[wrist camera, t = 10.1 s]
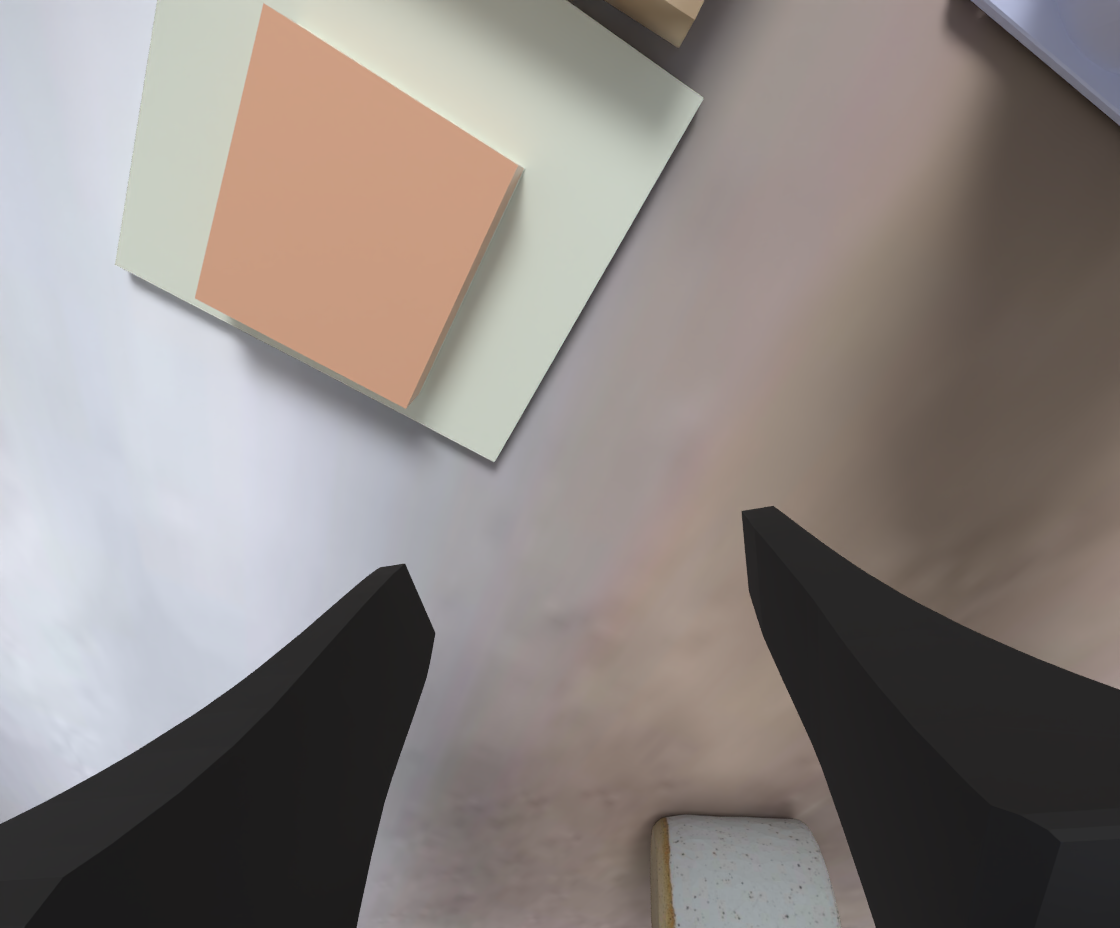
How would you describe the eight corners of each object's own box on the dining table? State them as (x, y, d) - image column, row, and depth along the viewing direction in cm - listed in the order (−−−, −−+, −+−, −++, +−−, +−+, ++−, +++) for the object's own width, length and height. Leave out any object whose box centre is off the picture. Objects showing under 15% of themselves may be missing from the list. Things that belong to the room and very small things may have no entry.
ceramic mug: (647, 784, 29) (663, 970, 22) (803, 787, 28) (870, 980, 21) (643, 886, 34) (656, 1064, 27) (776, 891, 33) (824, 1075, 26)
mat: (700, 101, 15) (703, 97, 15) (496, 456, 20) (494, 462, 20) (213, -246, 13) (199, -262, 12) (126, 263, 18) (115, 264, 17)
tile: (518, 165, 14) (405, 408, 17) (525, 168, 16) (419, 392, 19) (263, 2, 13) (194, 298, 16) (296, 22, 14) (226, 290, 18)
